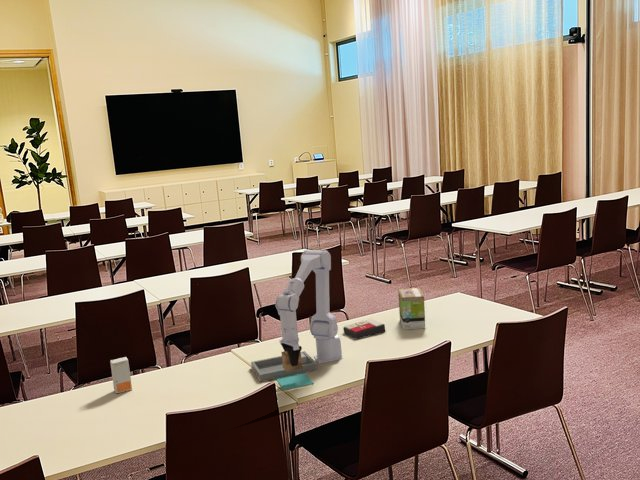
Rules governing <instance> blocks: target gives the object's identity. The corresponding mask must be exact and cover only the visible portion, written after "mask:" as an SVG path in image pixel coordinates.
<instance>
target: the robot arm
mask: <svg viewBox="0 0 640 480" xmlns="http://www.w3.org/2000/svg"><path fill="white" fill-rule="evenodd" d="M331 260H332V256H331V253H330V252H329V251H328V250H327V249H325V250H317V249H316V250H311V249H305V250H303V251H302V253H301V255H300V262H301V263H300V265H299V269H298V270H297V273H296V274H295V277H294V278H290V280H289V282H288V284H287V285H286V287H285V289H284V290H283V293H282V294H279V295H278V296H277V297H276V299H275V304H274V306H275V308H276V310H277V313H278V316H279V318H280V319H279V320H280V328H281V339H279V340H278V341H279V344H280V345H281V347H282V348H283V352H284V351H287V353H288V355H289V358H290V362H291V365H292V366H297V365H298V360H299V354H300V352H302V349H303V347H302V346H301V345H300V344H299V342H300V338H299V331H298V323H297V311H296V310H297V309H298V307H299V302H300V296H301V294H302V292H303V290H304V289H305V284H304V282H305V281H306V279H307V278H308V276H309V275H310V274H311V272H314V274H315V303H316V305H315V307H316V313H315V314H313V315H312V317H311V319H310V325H309V331H310V332H309V333H310V335H312V336H313V339H315V345H316V346H315V347H316V355H314V356H313V357H314V360H316V362H318V363H319V364H324V363H327V362H328V363H329V362H334V361H338V360H342V359H343V354H342V353H343V352H342V343H341V339H340V336H339V335H338V331H339V327H338V323H337V317H336V316H335V315H333V314H332V313H331V312H330V310H331V309H330V271H331V270H332V261H331Z"/></svg>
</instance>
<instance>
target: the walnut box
mask: <svg viewBox="0 0 640 480" xmlns="http://www.w3.org/2000/svg"><path fill="white" fill-rule="evenodd" d="M301 352H302V351H300V354H299V360H298V365H297V366H292V365H291V362H290V358H289V355H288V353H287V351H284V350H283V351H281V356H282V363H283V368H284V369H285V371H286V372H288V371H293V370H297V369H302V359H301Z"/></svg>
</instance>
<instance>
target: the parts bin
mask: <svg viewBox="0 0 640 480" xmlns="http://www.w3.org/2000/svg"><path fill="white" fill-rule="evenodd" d="M300 352H301V353H303V354H304V355H305V356H306V360H307V364H306V365H302V369H297V370H293V371H288V372H286V371H285V369H284V368H283V363H282V355H280V356H274V357H270V358H264V359H259V360H254V361H250V365H251V369H252V371H253V372H254V374H255V375H256V376H257V378H258V380H259V382H265V381H271V380H274V379H275V380H276V379H277V378H282V377H287V376H291V375H296V374H301V373H308V372H314V371H317V370H318V363H317V361H315V359H313V358H312V356H311V355H310V354H308V353H307V352H306V351H305V350H304V351H300Z"/></svg>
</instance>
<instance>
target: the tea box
mask: <svg viewBox="0 0 640 480" xmlns="http://www.w3.org/2000/svg"><path fill="white" fill-rule="evenodd" d="M397 291H398V307H399V308H398V309H399V320H400V323H401V327H402V329H403V330H417V329H418V330H419V329H425V328H426V311H425V296H424V294H423V292H422V290H421V289H420V287H417V288H416V287H415V288H413V287H412V288H401V289H398V290H397Z"/></svg>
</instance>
